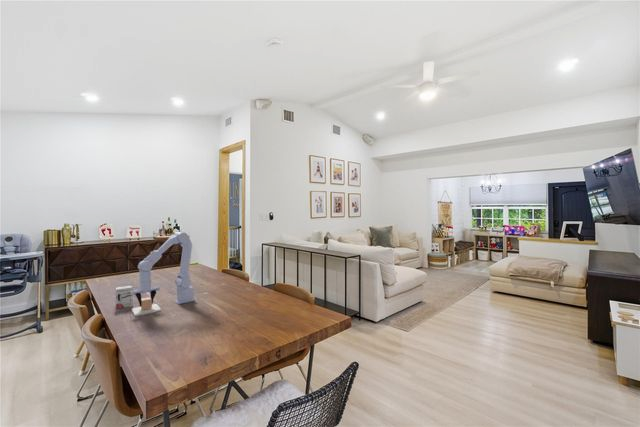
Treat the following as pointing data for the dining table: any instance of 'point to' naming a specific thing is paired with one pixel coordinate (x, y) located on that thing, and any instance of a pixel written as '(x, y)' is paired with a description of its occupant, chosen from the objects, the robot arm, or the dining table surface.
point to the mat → (145, 310)
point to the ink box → (124, 297)
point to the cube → (146, 303)
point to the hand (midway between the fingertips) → (146, 304)
